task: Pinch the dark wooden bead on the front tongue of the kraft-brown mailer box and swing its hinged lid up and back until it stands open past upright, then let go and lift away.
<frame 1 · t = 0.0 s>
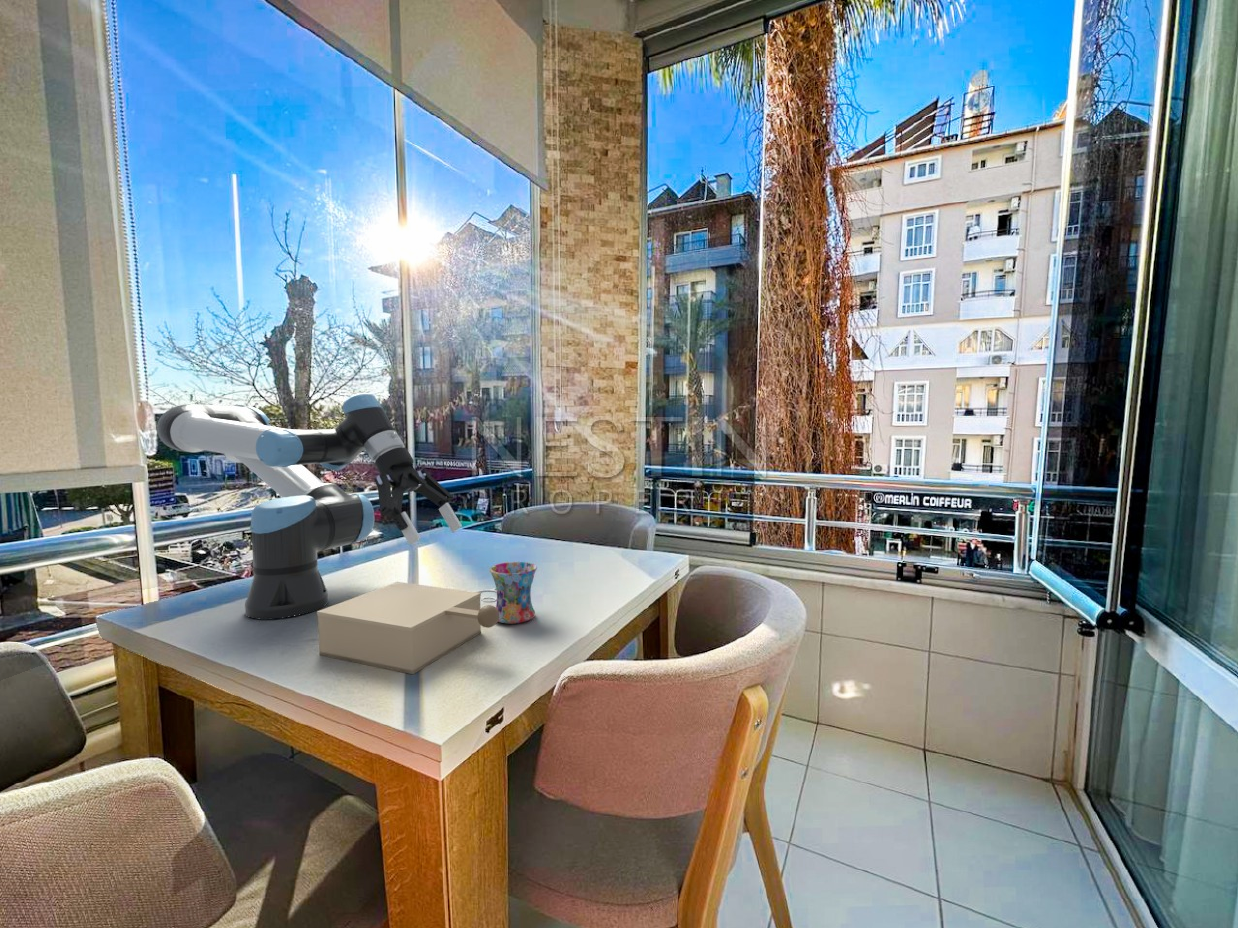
hand: (437, 535, 115), 15 cm above the table, tool tilted 35°, fingers open, 13 cm apart
scissors: (467, 595, 124), on the table
mug: (517, 617, 109), on the table
mailer box: (404, 643, 96), on the table
lid: (425, 606, 93), point 7 cm above the table, hinge at 0.0°
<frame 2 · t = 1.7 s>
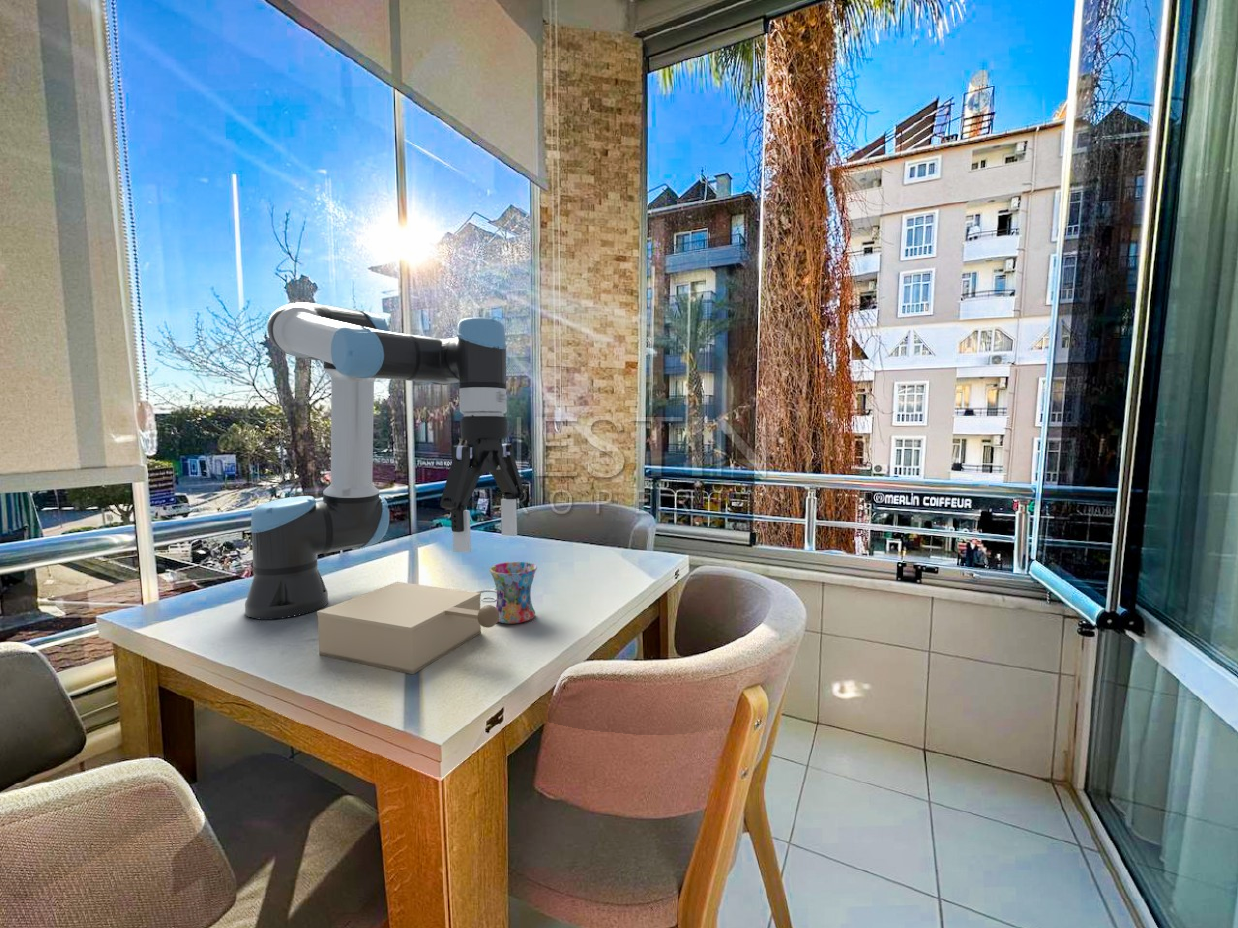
hand: (487, 543, 88), 20 cm above the table, tool pointing down, fingers open, 13 cm apart
nothing on the table moved.
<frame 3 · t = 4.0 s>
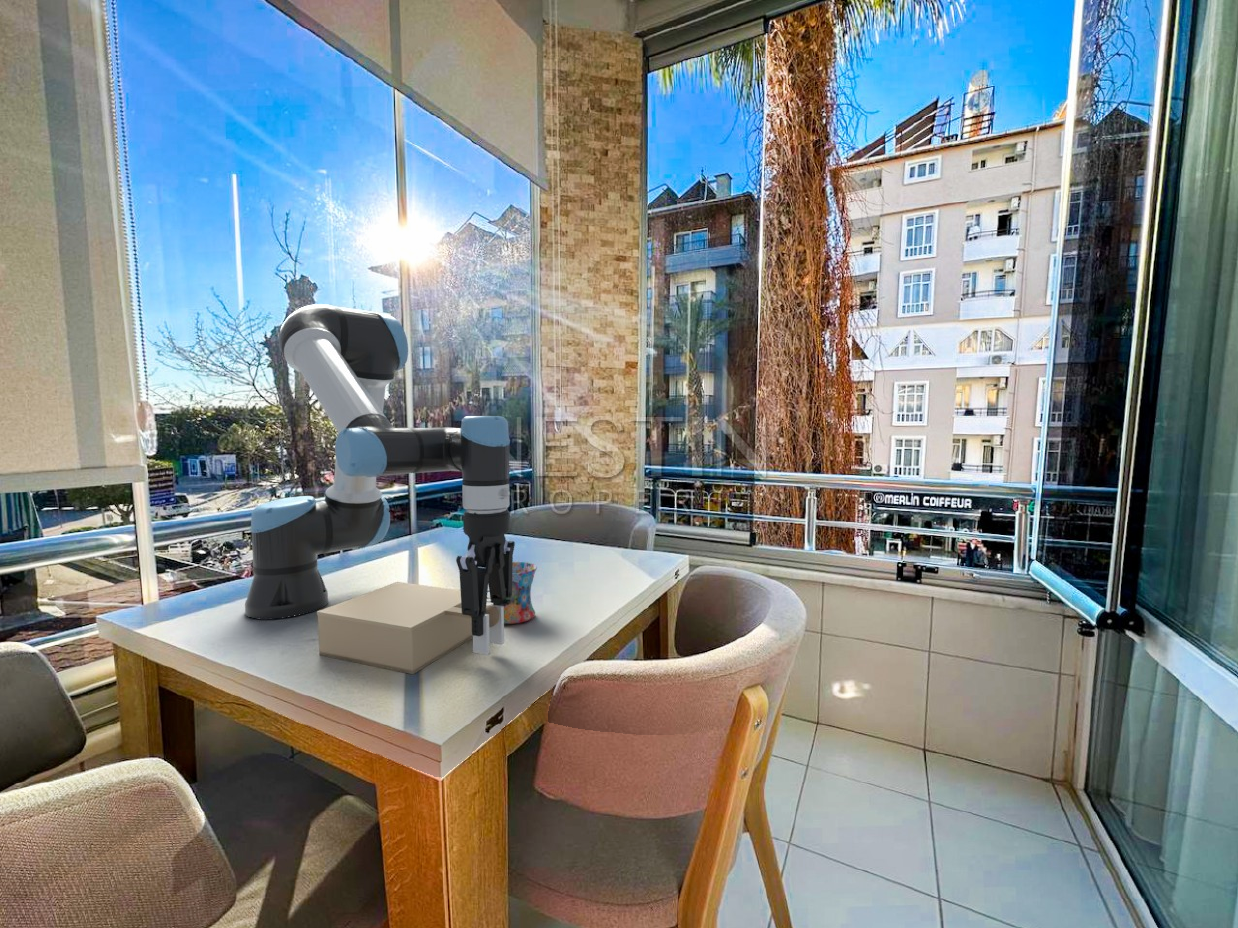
hand: (488, 647, 89), 2 cm above the table, tool pointing down, fingers closed on lid, 4 cm apart
lid: (425, 606, 93), point 7 cm above the table, hinge at 0.0°, touching gripper
everything else where it was.
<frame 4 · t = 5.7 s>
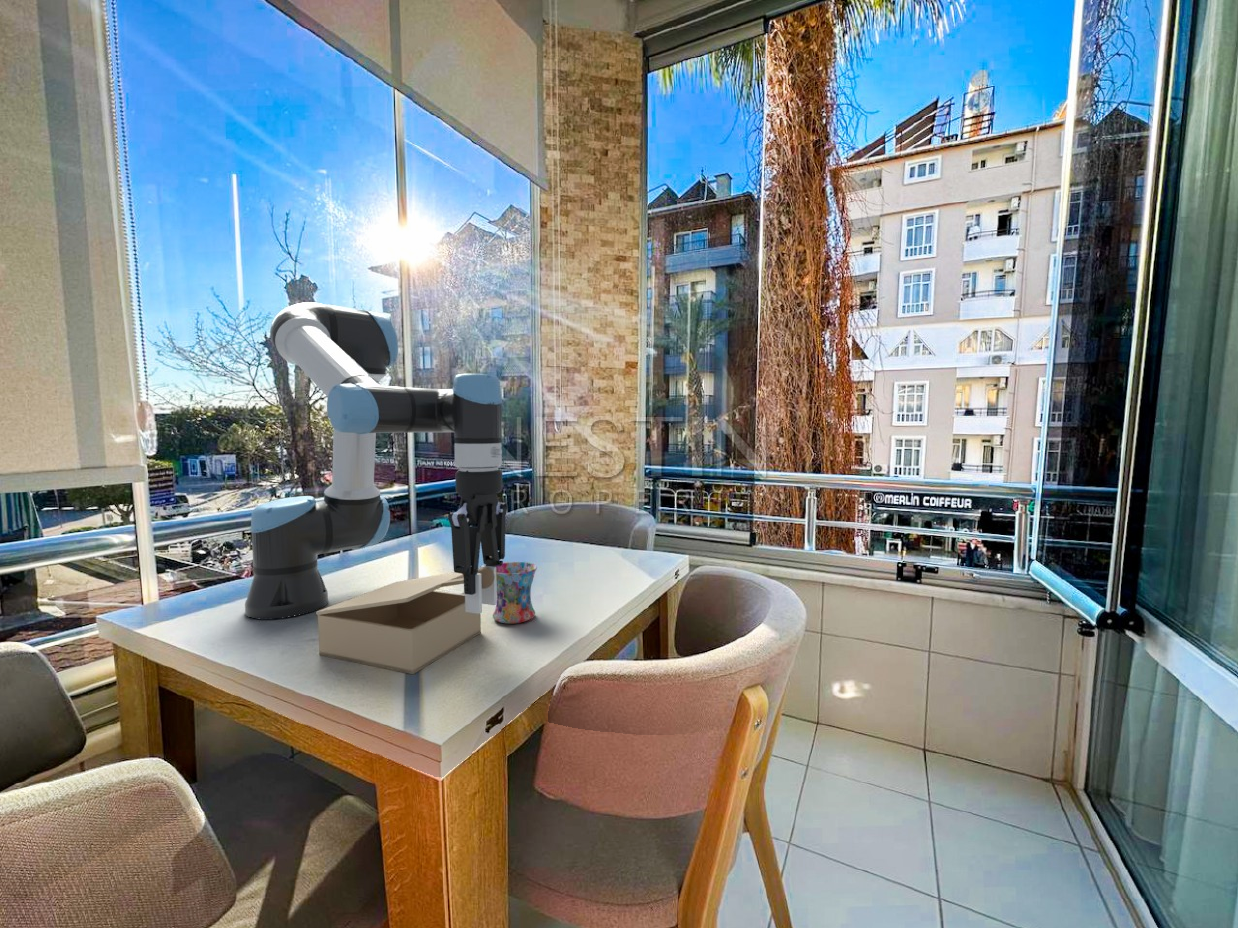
hand: (481, 607, 89), 9 cm above the table, tool pointing down, fingers closed on lid, 4 cm apart
lid: (422, 587, 93), point 11 cm above the table, hinge at 13.5°, touching gripper
everything else where it was.
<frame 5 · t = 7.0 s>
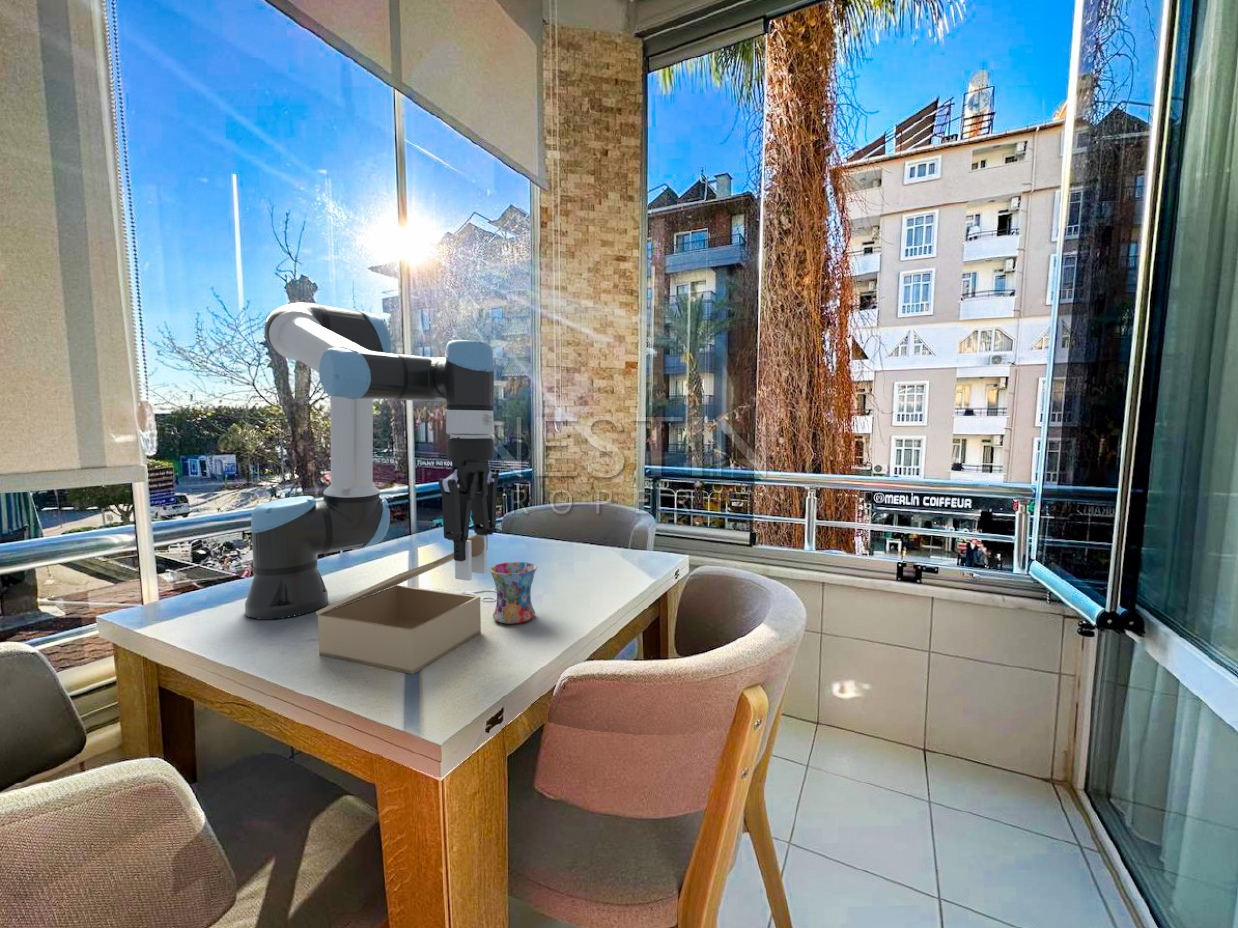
hand: (471, 575, 89), 14 cm above the table, tool pointing down, fingers closed on lid, 4 cm apart
lid: (417, 571, 93), point 14 cm above the table, hinge at 24.8°, touching gripper
everything else where it was.
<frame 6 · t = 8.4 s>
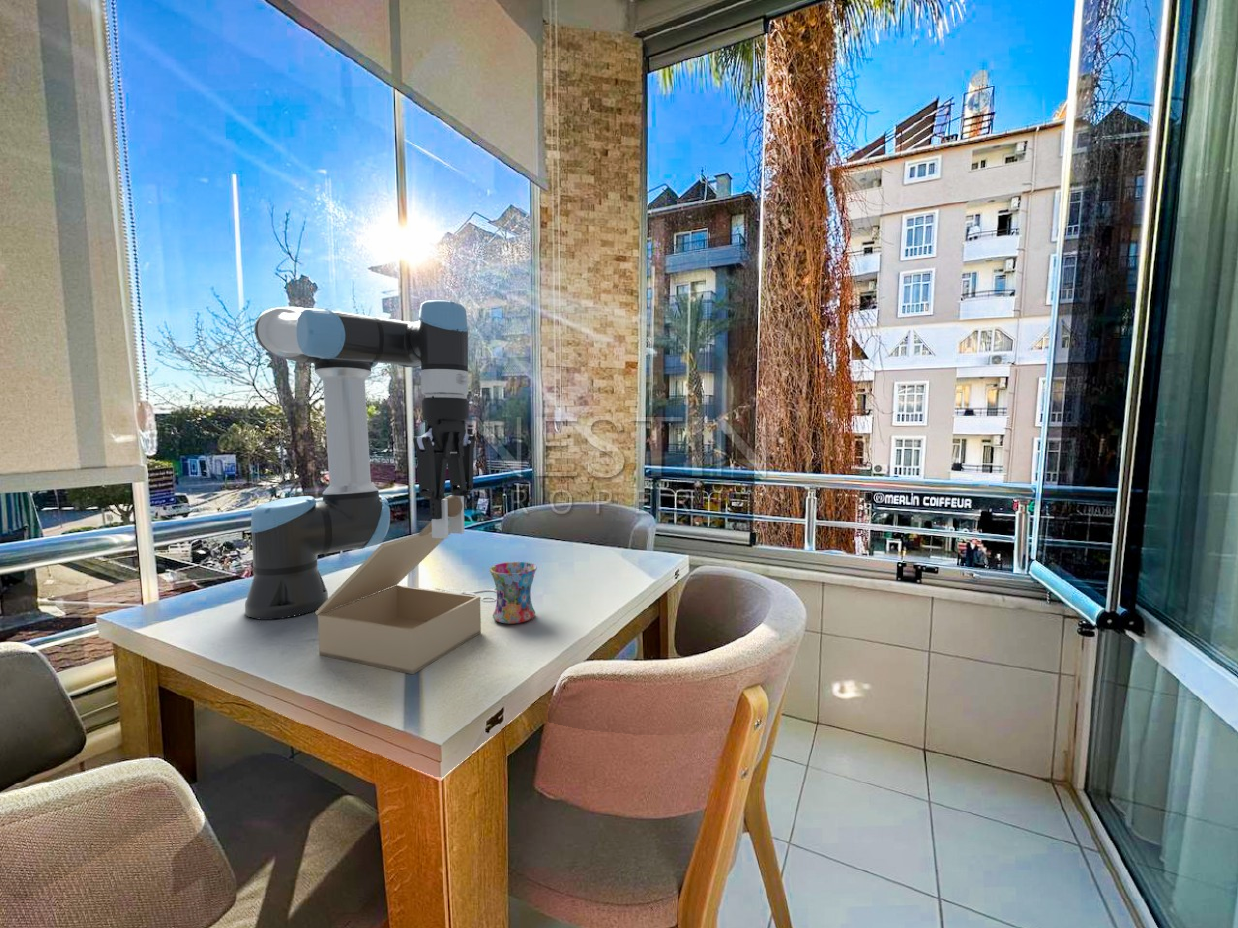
hand: (448, 534, 90), 21 cm above the table, tool pointing down, fingers closed on lid, 4 cm apart
lid: (406, 550, 94), point 17 cm above the table, hinge at 40.8°, touching gripper
everything else where it was.
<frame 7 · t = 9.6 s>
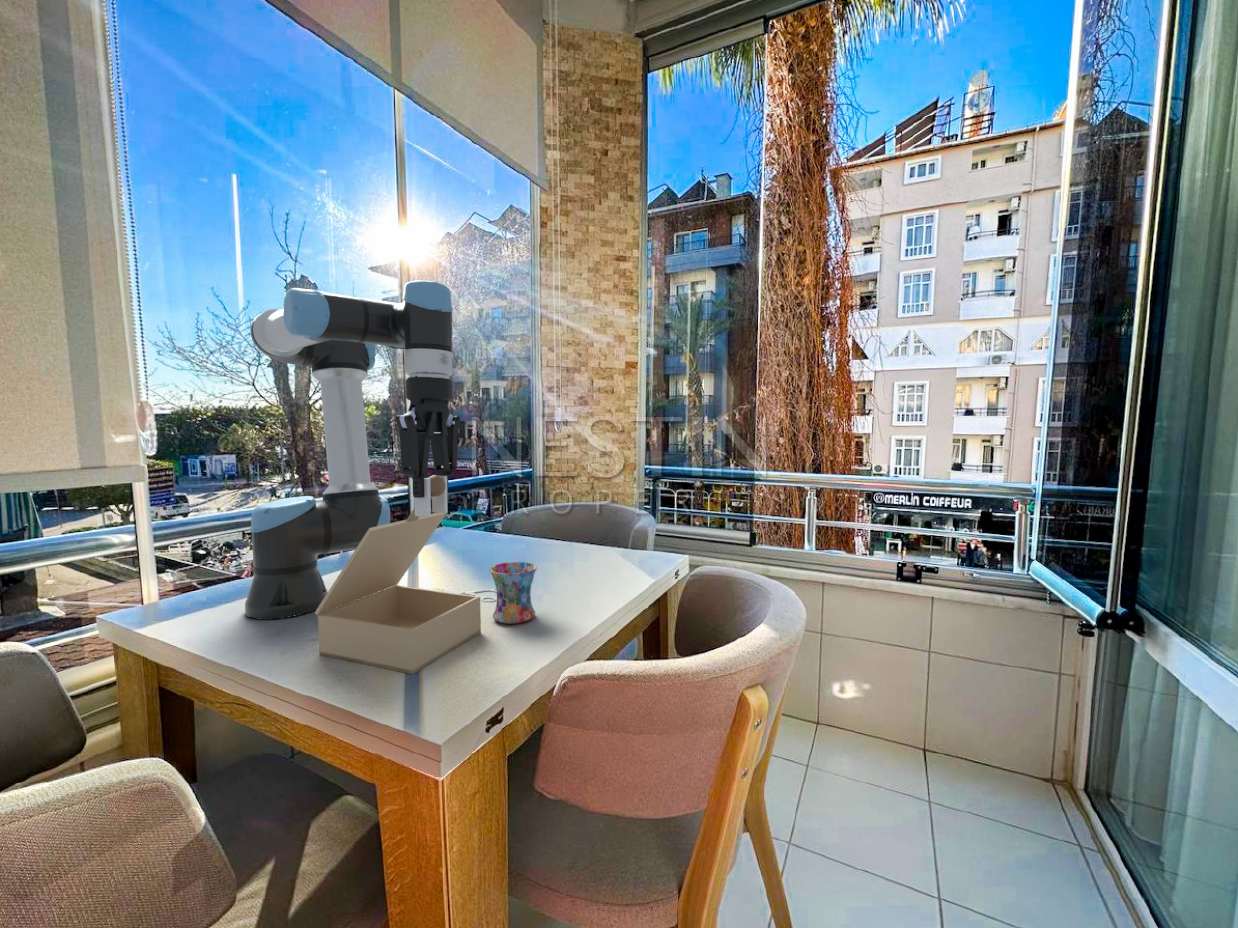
hand: (431, 514, 91), 24 cm above the table, tool pointing down, fingers closed on lid, 4 cm apart
lid: (397, 540, 94), point 19 cm above the table, hinge at 50.6°, touching gripper
everything else where it was.
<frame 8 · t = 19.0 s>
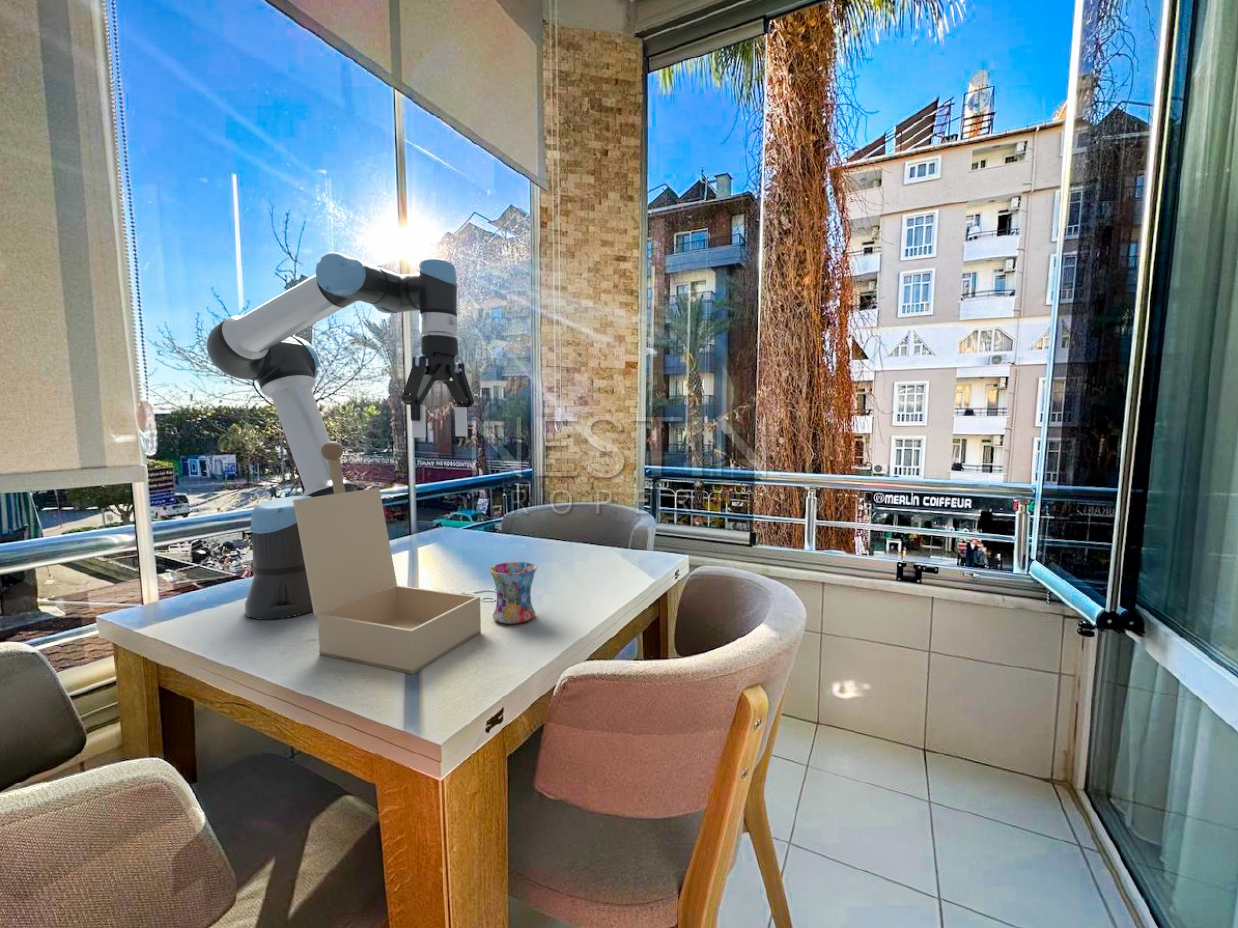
hand: (441, 437, 114), 37 cm above the table, tool pointing down, fingers open, 13 cm apart
lid: (344, 520, 99), point 22 cm above the table, hinge at 101.0°
everything else where it was.
at the end: lid at +101° (first picture: +0°); mug moved 0.2 cm from its start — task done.
